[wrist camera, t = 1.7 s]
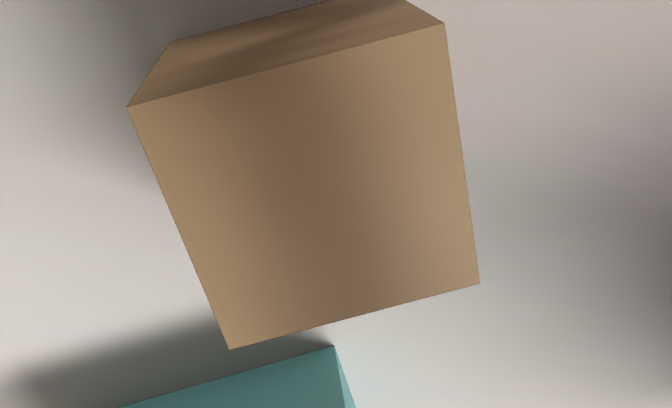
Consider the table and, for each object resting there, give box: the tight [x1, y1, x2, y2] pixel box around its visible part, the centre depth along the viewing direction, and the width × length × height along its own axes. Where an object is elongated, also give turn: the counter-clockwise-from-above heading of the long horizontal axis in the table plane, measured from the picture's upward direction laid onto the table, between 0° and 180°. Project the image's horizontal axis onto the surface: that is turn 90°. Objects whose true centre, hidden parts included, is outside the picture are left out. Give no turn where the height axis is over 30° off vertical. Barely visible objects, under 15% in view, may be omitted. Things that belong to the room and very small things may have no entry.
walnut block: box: [126, 0, 480, 350], centre depth 14 cm, size 6×6×6 cm
